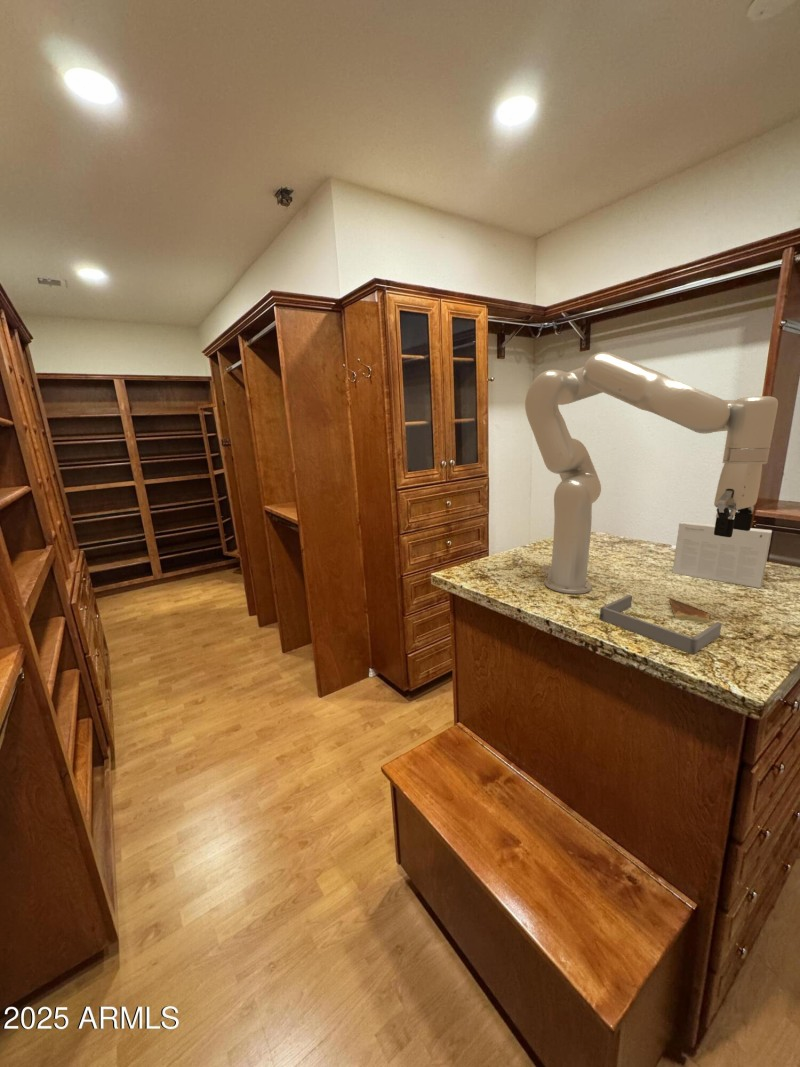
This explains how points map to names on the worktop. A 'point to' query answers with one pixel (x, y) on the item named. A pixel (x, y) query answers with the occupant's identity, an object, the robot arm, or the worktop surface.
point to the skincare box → (722, 554)
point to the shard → (688, 612)
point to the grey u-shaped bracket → (656, 628)
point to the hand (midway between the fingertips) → (732, 532)
